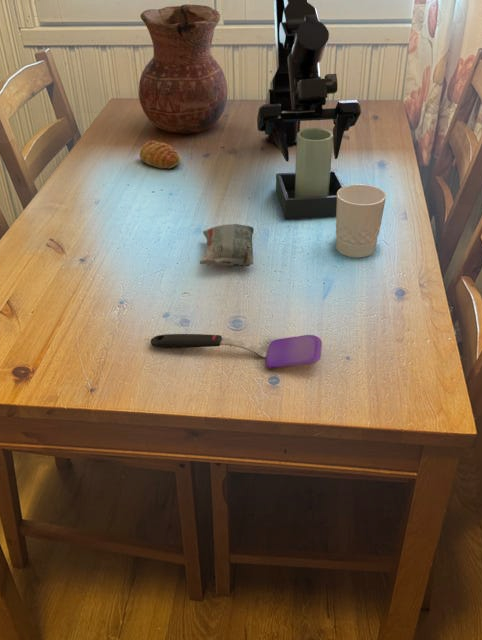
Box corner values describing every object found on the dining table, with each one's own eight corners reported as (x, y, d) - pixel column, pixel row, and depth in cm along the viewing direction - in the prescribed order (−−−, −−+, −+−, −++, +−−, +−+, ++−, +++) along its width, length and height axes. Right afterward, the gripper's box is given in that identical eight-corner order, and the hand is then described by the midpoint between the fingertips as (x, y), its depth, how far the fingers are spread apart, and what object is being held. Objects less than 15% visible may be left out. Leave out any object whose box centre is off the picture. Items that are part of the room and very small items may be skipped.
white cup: (382, 241, 120) (389, 187, 114) (374, 263, 114) (381, 207, 108) (337, 234, 122) (342, 181, 116) (327, 256, 116) (332, 201, 110)
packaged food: (200, 275, 112) (199, 249, 109) (203, 240, 121) (203, 215, 118) (253, 276, 112) (254, 249, 109) (253, 241, 121) (253, 215, 118)
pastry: (188, 164, 148) (187, 146, 146) (164, 173, 145) (163, 156, 142) (160, 152, 154) (158, 136, 151) (136, 161, 150) (134, 144, 148)
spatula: (145, 358, 95) (143, 344, 94) (157, 330, 100) (156, 316, 99) (318, 376, 92) (320, 362, 90) (322, 346, 97) (323, 331, 95)
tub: (275, 192, 136) (276, 173, 134) (334, 189, 137) (336, 170, 134) (284, 220, 127) (285, 200, 125) (348, 216, 128) (350, 196, 125)
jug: (227, 140, 159) (225, 22, 143) (137, 141, 159) (125, 24, 144) (228, 108, 176) (226, 0, 161) (146, 109, 177) (137, 1, 161)
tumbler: (299, 192, 135) (303, 126, 127) (331, 196, 133) (337, 130, 125) (290, 205, 130) (292, 138, 122) (322, 210, 128) (327, 142, 120)
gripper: (259, 58, 121) (266, 143, 119) (364, 54, 122) (372, 138, 120) (254, 90, 132) (260, 168, 130) (349, 85, 133) (357, 163, 131)
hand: (312, 159), depth 128 cm, fingers open, 9 cm apart
